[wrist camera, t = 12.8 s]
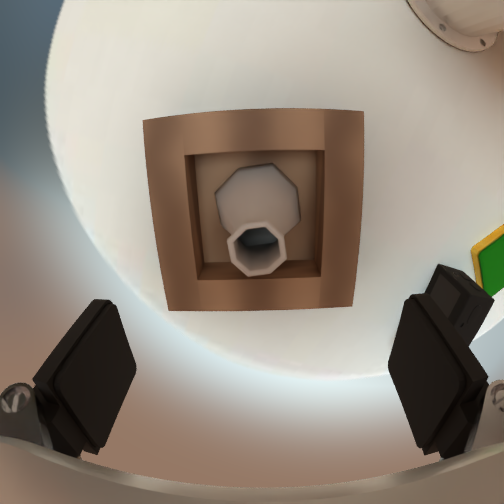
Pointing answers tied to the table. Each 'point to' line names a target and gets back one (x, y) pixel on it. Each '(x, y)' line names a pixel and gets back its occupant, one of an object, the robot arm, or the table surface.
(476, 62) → the table surface
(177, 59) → the table surface
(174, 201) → the condiment dock
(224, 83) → the table surface
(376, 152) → the table surface
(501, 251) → the dish sponge
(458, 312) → the digital camera
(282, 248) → the flask
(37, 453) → the robot arm
